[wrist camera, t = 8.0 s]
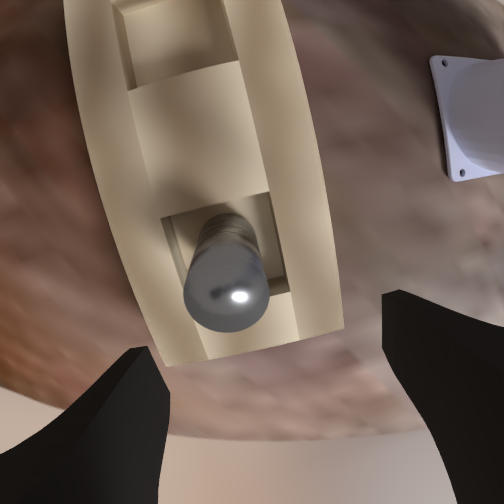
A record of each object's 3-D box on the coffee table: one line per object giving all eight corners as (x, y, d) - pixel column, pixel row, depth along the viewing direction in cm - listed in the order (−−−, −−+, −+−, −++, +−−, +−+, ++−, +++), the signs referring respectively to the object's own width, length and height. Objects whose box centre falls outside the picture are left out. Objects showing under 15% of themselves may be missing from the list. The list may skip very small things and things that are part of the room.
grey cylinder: (249, 207, 16) (260, 247, 11) (261, 261, 17) (276, 323, 12) (191, 220, 16) (172, 267, 11) (206, 273, 17) (197, 339, 12)
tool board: (250, -49, 12) (254, -76, 9) (329, 302, 20) (344, 328, 17) (83, -1, 12) (62, -19, 9) (173, 337, 20) (166, 366, 17)
